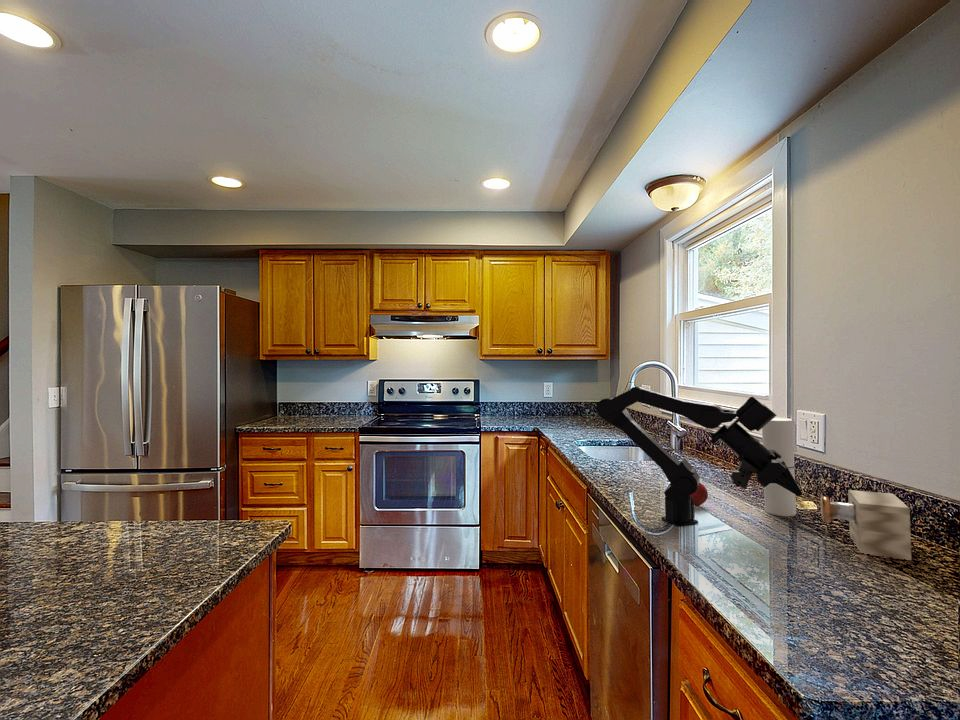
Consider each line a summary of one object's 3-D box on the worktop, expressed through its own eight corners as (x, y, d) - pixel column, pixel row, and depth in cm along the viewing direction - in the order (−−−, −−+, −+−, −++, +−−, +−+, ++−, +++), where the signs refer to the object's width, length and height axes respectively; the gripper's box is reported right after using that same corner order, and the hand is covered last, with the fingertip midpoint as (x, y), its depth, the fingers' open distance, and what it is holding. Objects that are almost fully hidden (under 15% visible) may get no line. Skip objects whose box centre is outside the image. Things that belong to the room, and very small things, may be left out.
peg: (824, 525, 104) (823, 499, 105) (821, 517, 109) (820, 493, 109) (878, 531, 100) (877, 504, 100) (871, 523, 105) (870, 498, 105)
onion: (684, 508, 133) (684, 479, 133) (686, 502, 138) (685, 475, 138) (707, 510, 130) (707, 481, 130) (708, 505, 135) (707, 477, 135)
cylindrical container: (801, 516, 123) (797, 420, 124) (771, 515, 125) (767, 420, 125) (789, 508, 130) (785, 418, 131) (760, 507, 132) (757, 418, 132)
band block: (861, 553, 99) (859, 503, 99) (849, 535, 109) (848, 489, 109) (911, 560, 95) (909, 507, 95) (894, 540, 105) (892, 493, 106)
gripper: (720, 459, 125) (770, 506, 120) (716, 474, 109) (775, 528, 103) (752, 431, 122) (806, 477, 116) (754, 441, 105) (817, 496, 100)
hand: (800, 494), depth 109 cm, fingers closed
